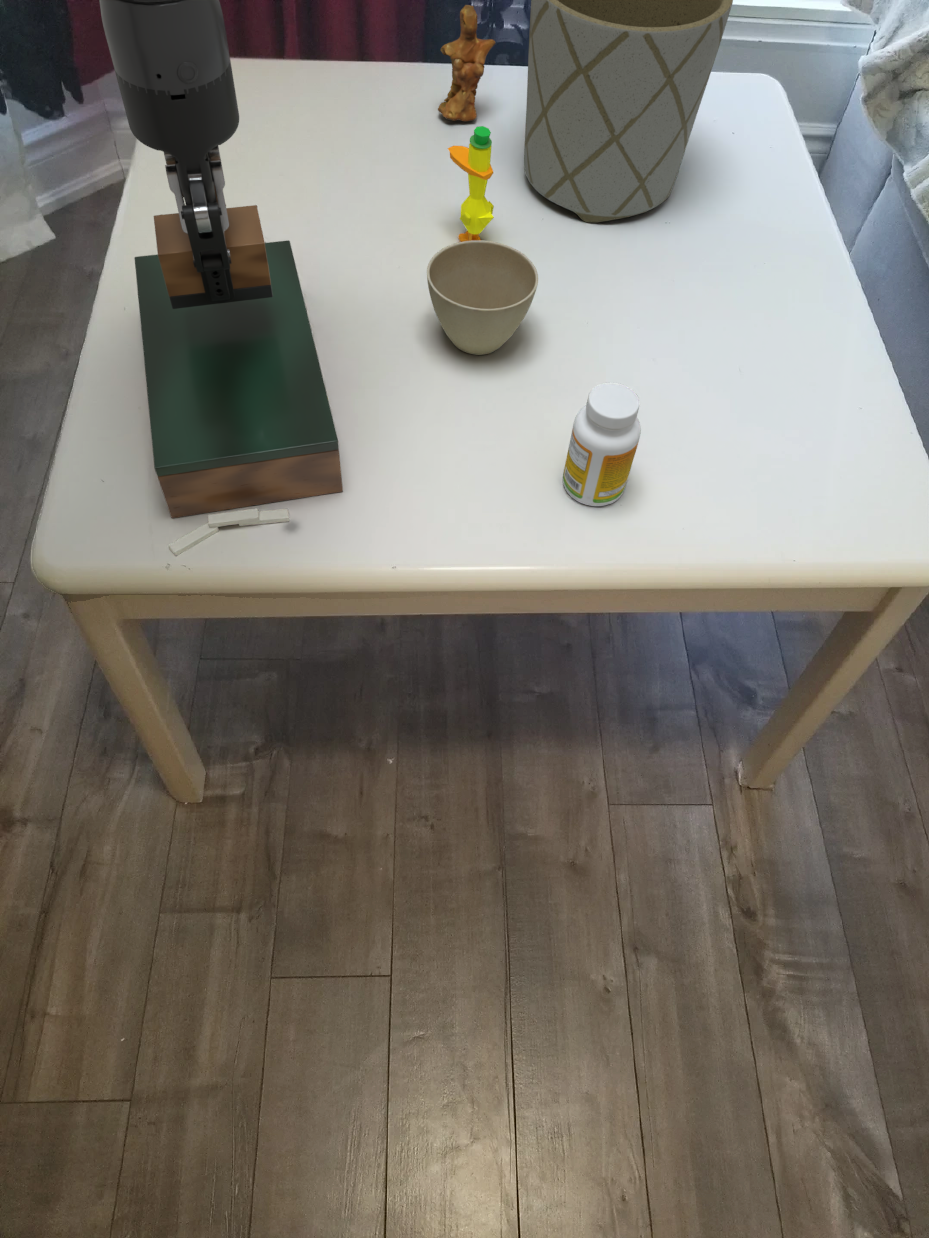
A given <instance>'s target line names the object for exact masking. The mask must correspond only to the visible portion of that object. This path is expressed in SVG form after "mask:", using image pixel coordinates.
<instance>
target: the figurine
mask: <svg viewBox="0 0 929 1238" xmlns="http://www.w3.org/2000/svg"><path fill="white" fill-rule="evenodd" d="M459 22H460V23H459V26H460V34H459V37H458V38H457V39H455V40H452V41H450V42H448V43H445V44H443V45H442V46H441V48H440V53H442V55H443V56H448V57H449V59H450V61H451V79H452V80H451V85H450V90H449V91H448V92H447V95H446V98H445V99H444V100H443V102H440V104H439V105H438V108H437V111H438V113H440V114H441V116H442V117H443V118H445V120H448V121H453V122H456V121H461V122H471V121H476V119H477V118H478V116H477V110H476V96H477V89H478V87H479V86H478V84H479V82H480V80H481V78H482V77H483V76H484V73H485V62H486V59H487V55H488V54H489V52H490V51H491V49H492V48H493V47H494V46H495V45H496V41H495V39H492V38H488V39H481V38H478V37H477V35H478V34H477V30H478V14H477V12H476V10H475V6H473V5H470V4H464V6H463V7H462V8H461V9H460V11H459Z"/></svg>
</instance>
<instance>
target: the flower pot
mask: <svg viewBox="0 0 929 1238" xmlns="http://www.w3.org/2000/svg"><path fill="white" fill-rule="evenodd" d="M426 279H427V289H428V292H429V296H430V300H431V304H432V307H433V309H434V312H435V315H436V317H437V320H438V322H439V324H440V326H441V328H442V329H443V331H444V333H445V335H446V336H447V337H448V339H449V340H450V341H451V342H452V344H453V345H454V346H455V347H456V348H457V349H459V351H462V352H464V353H465V354H466V353H467V354H470V355H475V356H478V355H479V356H482V355H488V354H491V353H494V352H495V351H497V350H499V349H500V348H501V347H502V346H503V345H504V344H505V343H506V342H507V341H508V340H509V339H511V337H512V336H513V335H514V333H515V332H516V330H518V328H519V327H520V325H521V323H523V320H524V319H525V318H526V316H527V314H528V311H529V309H530V307H531V305H532V303H533V302H532V301H533V300H534V297H535V294H536V292H537V288H538V285H539V274H538V271H537V268H536V266H535V265H534V263H533V261H532V260H530V258H529V257H528V256H527V255H525V254H524V253H522V252H521V251H520V250H518V249H516V248H514V247H513V246H510V245H508V244H505V243H501V242H496V241H493V240H484V239H483V240H482V239H481V240H471V241H463V242H461V241H459V242H456V243H452V244H449V245H447V246H445V247H443V248H441V249H440V250H438V251H437V252H436V253H435V254H434V255H433V256H432V257H431V259H430V260H429V262H428V264H427V267H426Z"/></svg>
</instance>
